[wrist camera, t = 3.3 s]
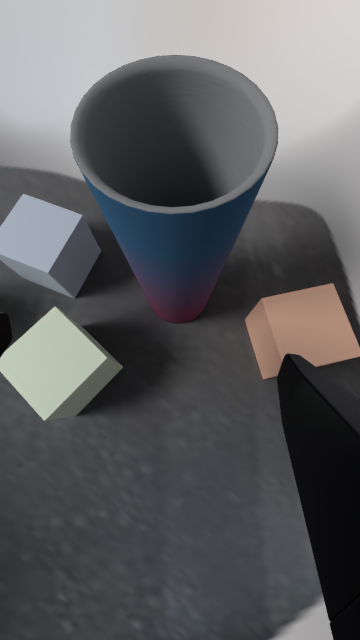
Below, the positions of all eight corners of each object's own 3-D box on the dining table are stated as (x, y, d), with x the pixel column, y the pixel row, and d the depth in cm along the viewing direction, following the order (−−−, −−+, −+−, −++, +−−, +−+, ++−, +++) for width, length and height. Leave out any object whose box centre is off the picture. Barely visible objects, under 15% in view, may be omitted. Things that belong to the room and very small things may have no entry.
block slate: (101, 251, 25) (82, 215, 20) (75, 299, 23) (47, 273, 19) (53, 233, 25) (23, 193, 20) (24, 279, 24) (-15, 248, 19)
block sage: (123, 367, 22) (107, 357, 17) (75, 416, 21) (44, 420, 16) (81, 326, 23) (55, 306, 18) (34, 371, 22) (-8, 362, 17)
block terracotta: (322, 365, 22) (362, 355, 17) (262, 379, 21) (285, 373, 17) (301, 307, 23) (333, 283, 18) (244, 319, 23) (261, 298, 18)
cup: (122, 304, 23) (25, 145, 9) (168, 246, 25) (152, 29, 10) (188, 350, 22) (204, 254, 8) (233, 286, 24) (315, 105, 9)
